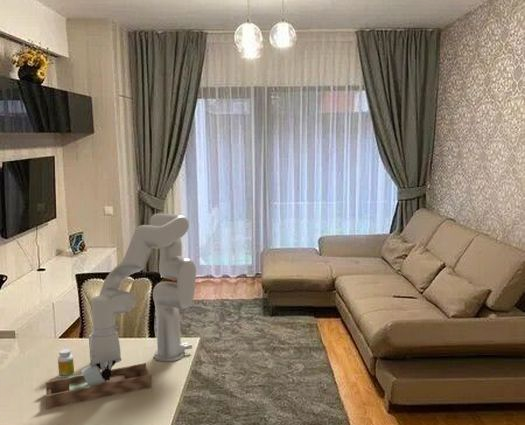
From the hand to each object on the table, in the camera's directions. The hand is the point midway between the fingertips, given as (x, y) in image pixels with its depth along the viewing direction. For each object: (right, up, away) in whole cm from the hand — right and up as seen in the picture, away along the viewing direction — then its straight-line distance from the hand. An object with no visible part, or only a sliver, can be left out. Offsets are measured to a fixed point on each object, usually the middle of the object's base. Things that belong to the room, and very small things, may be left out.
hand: (106, 378), depth 173 cm
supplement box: (-9, -1, +22) cm, 23 cm away
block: (-3, -1, -2) cm, 4 cm away
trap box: (-2, -4, 0) cm, 5 cm away
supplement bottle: (-19, -3, +12) cm, 23 cm away
